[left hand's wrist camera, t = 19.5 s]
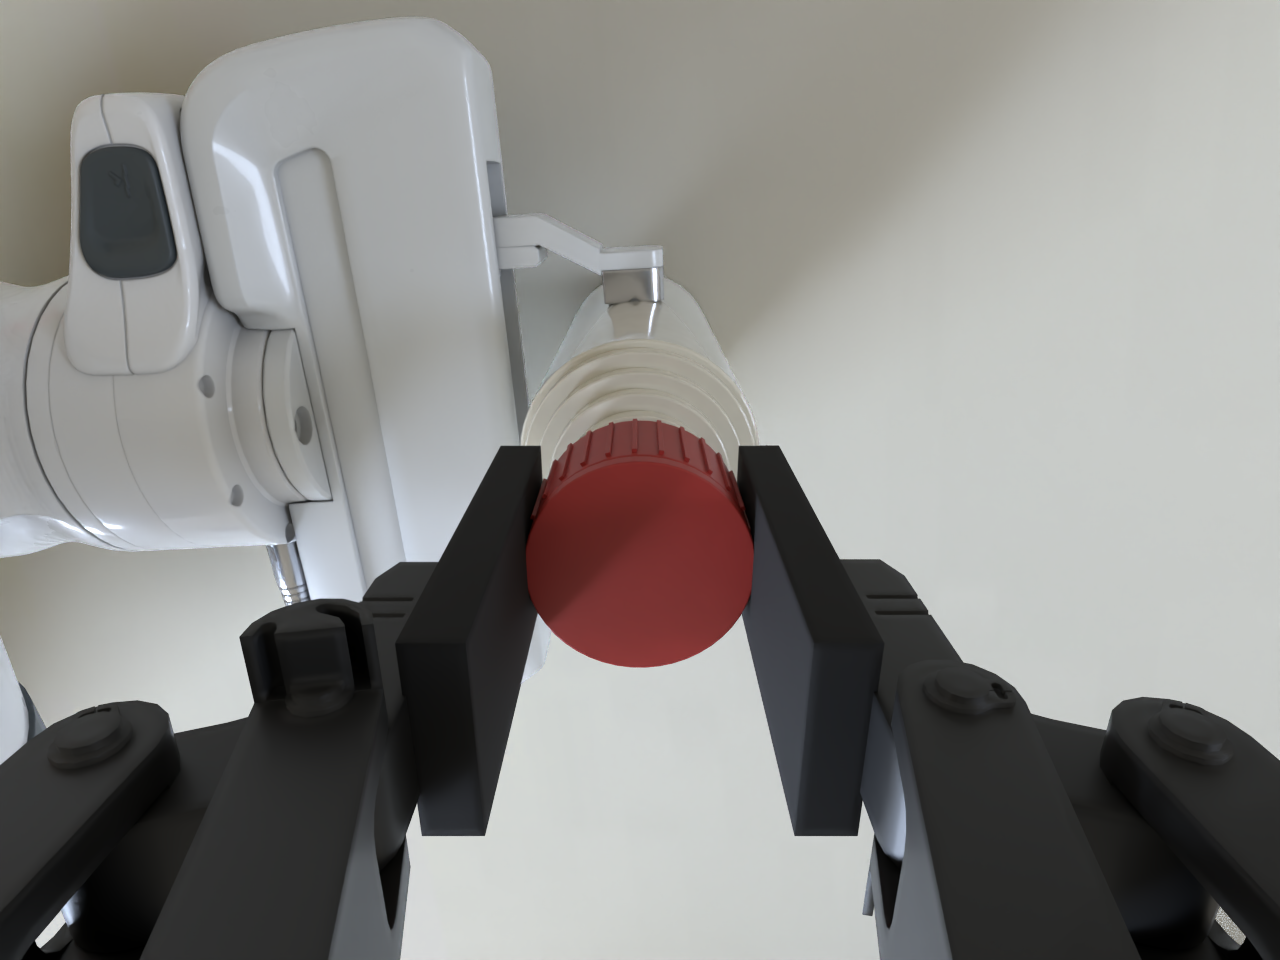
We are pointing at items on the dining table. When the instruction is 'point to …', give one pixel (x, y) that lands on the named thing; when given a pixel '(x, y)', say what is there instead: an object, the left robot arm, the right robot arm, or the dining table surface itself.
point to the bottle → (640, 377)
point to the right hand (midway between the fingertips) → (668, 384)
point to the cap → (639, 545)
